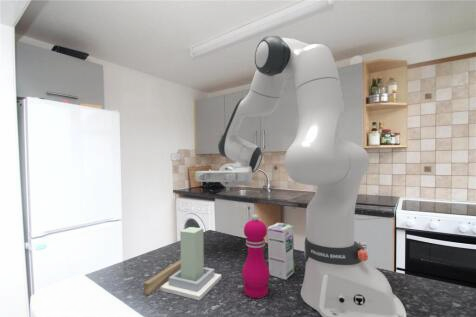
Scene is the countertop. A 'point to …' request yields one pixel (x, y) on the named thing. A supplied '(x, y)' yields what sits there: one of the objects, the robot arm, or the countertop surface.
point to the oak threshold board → (161, 278)
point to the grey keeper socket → (191, 284)
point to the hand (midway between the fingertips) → (212, 177)
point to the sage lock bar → (192, 253)
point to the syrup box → (281, 250)
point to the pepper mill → (255, 260)
